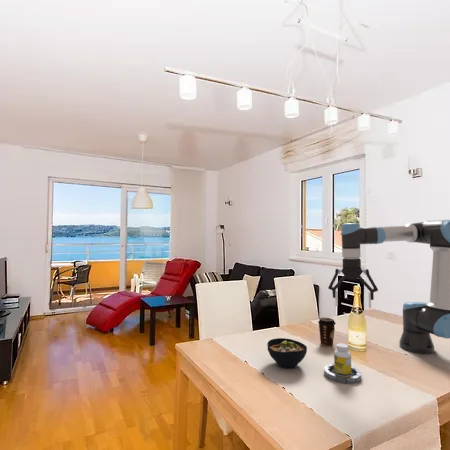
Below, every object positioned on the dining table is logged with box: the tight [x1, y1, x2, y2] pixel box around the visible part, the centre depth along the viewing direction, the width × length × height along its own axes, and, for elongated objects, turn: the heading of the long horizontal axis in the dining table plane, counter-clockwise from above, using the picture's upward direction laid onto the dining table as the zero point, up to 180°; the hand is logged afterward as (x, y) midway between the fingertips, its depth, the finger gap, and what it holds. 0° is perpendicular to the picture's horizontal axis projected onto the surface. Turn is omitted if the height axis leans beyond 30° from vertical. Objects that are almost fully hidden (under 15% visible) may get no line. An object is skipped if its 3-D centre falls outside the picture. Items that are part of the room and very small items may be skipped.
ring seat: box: [323, 363, 362, 385], centre depth 129 cm, size 14×14×2 cm
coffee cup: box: [317, 317, 336, 347], centre depth 166 cm, size 9×8×13 cm
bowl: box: [266, 337, 308, 370], centre depth 139 cm, size 17×17×10 cm
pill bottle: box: [333, 343, 352, 377], centre depth 129 cm, size 6×6×12 cm
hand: (353, 306), depth 139 cm, fingers open, 13 cm apart
